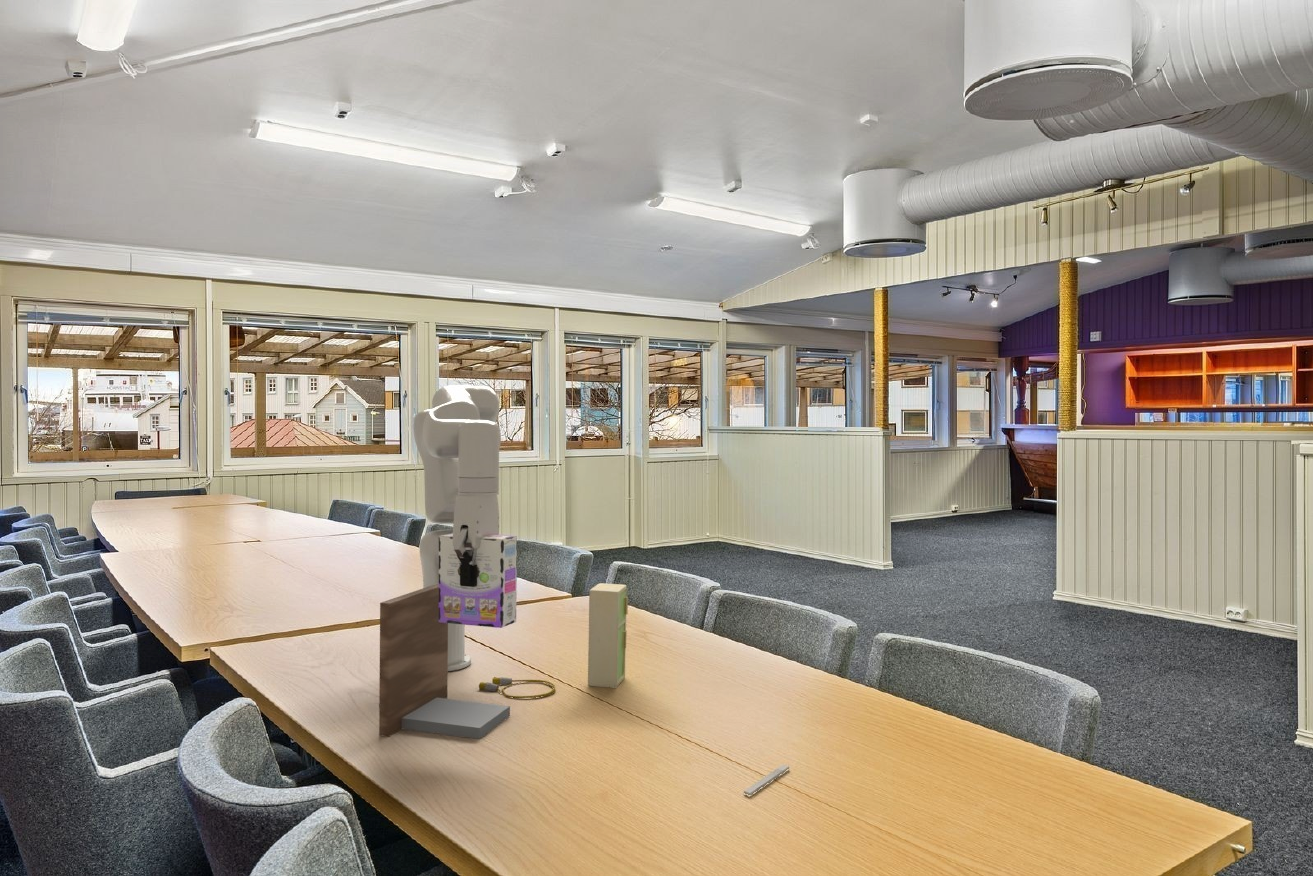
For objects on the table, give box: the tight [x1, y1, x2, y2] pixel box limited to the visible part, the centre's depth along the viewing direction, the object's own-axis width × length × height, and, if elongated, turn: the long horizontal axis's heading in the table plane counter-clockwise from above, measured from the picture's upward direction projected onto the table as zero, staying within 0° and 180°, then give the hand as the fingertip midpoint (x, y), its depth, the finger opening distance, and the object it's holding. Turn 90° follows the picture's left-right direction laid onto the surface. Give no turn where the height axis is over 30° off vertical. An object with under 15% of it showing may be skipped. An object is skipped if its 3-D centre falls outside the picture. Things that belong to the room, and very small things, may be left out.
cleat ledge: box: [401, 698, 511, 740], centre depth 153 cm, size 16×12×2 cm
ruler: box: [743, 764, 790, 795], centre depth 128 cm, size 12×1×1 cm, turn 143°
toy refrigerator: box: [587, 582, 629, 689], centre depth 178 cm, size 8×7×21 cm
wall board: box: [378, 583, 449, 737], centre depth 155 cm, size 2×20×24 cm, turn 164°
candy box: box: [438, 533, 518, 629], centre depth 151 cm, size 14×6×16 cm, turn 71°
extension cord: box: [478, 676, 556, 698], centre depth 172 cm, size 12×16×2 cm
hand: (477, 581), depth 151 cm, fingers closed on candy box, 6 cm apart
